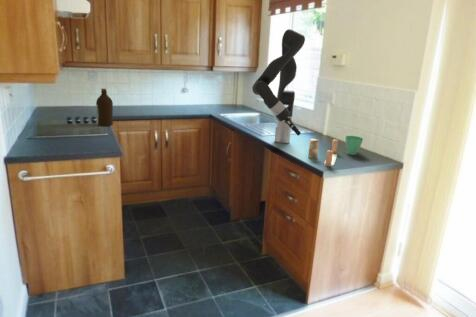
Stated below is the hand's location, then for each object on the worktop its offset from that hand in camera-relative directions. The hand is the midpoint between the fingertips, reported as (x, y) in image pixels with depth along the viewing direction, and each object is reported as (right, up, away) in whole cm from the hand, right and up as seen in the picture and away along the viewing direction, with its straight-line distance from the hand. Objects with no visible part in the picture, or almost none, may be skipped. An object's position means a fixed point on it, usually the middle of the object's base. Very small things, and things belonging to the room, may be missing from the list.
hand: (298, 132), depth 200 cm
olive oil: (-126, +9, +52) cm, 137 cm away
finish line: (+19, -15, +3) cm, 24 cm away
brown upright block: (+9, -14, +4) cm, 17 cm away
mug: (+35, -11, +19) cm, 41 cm away
